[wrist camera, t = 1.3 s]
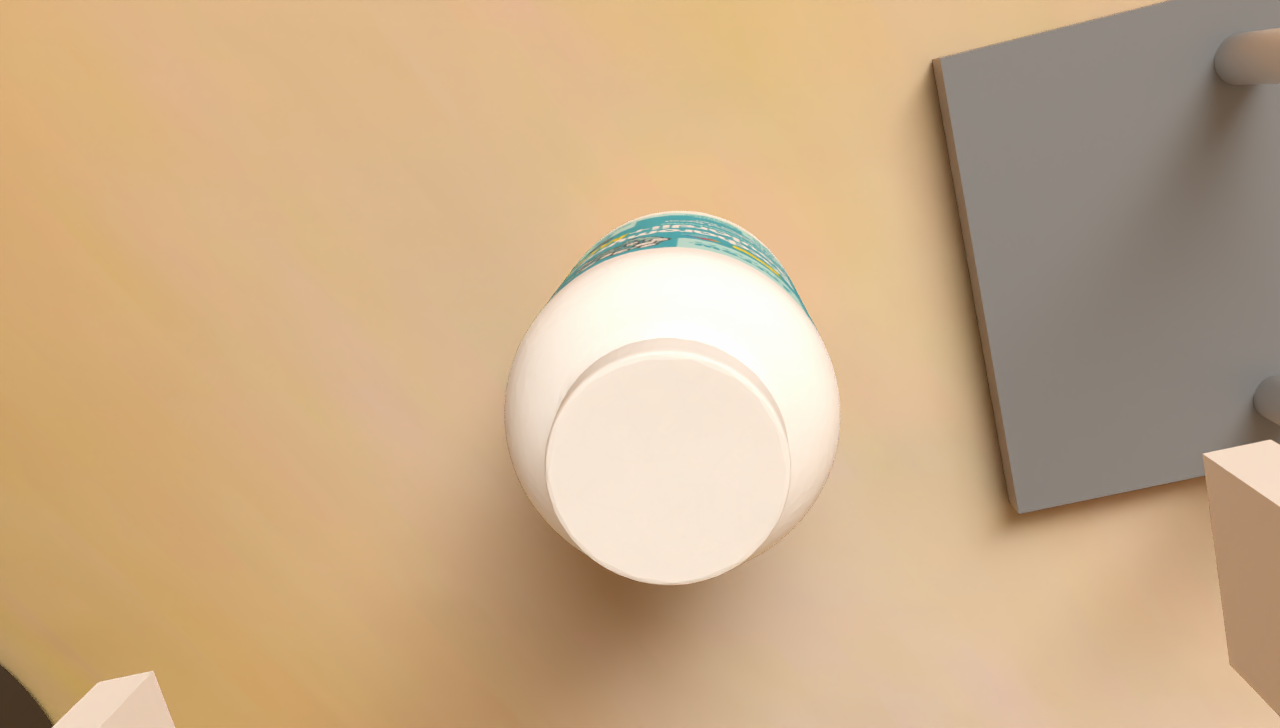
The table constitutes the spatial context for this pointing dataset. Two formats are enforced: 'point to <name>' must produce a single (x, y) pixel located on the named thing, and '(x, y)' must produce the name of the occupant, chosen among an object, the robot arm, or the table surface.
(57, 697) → the table surface
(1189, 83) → the grey peg board
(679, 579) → the pill bottle
